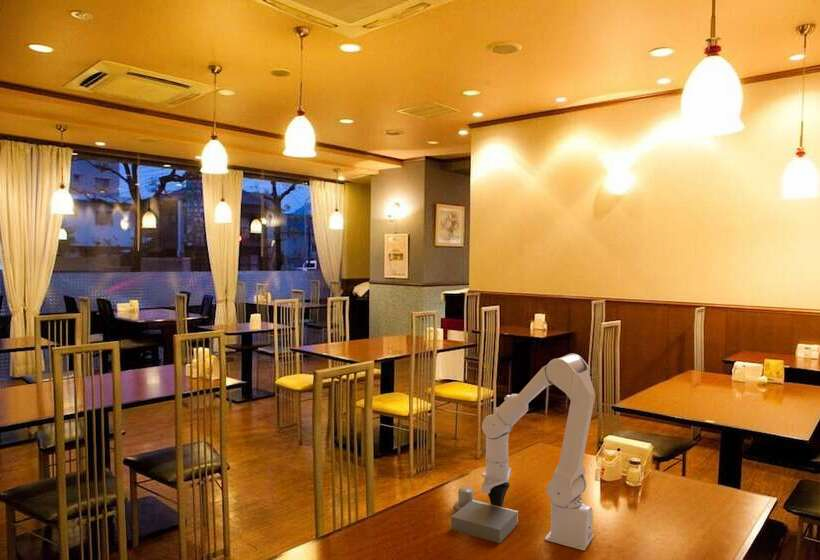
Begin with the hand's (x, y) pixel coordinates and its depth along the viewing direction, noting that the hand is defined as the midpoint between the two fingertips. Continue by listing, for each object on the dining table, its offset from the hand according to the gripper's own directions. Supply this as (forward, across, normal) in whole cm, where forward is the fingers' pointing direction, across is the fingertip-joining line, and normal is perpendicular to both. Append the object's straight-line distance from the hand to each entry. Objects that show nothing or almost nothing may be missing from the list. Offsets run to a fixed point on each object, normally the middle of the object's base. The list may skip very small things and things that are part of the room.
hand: (496, 510), depth 151 cm
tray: (+1, +8, 0) cm, 8 cm away
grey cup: (+1, 0, -9) cm, 9 cm away
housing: (+1, +8, 0) cm, 8 cm away
